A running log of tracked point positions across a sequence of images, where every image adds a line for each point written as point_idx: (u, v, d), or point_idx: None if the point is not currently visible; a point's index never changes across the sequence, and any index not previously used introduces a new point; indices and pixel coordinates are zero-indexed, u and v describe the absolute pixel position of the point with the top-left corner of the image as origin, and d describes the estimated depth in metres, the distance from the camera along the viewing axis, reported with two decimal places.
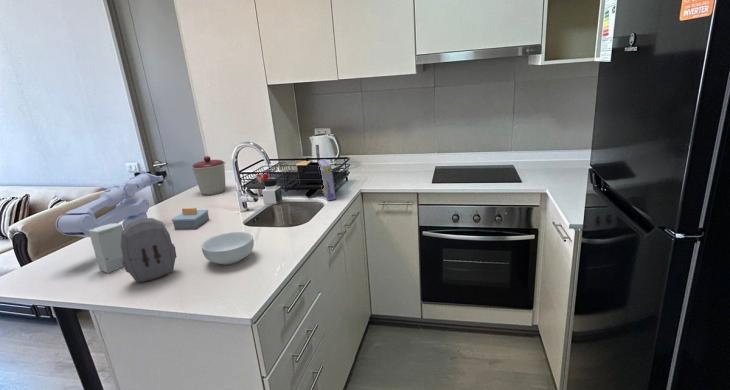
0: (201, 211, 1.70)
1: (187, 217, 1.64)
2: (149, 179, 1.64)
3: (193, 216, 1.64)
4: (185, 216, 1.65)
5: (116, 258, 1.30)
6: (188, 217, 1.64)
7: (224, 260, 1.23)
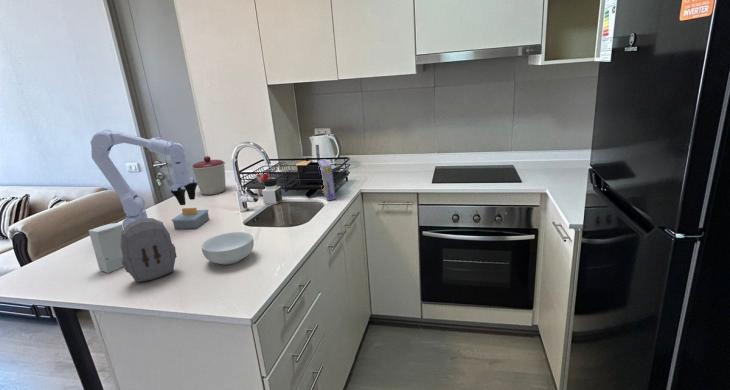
0: (201, 211, 1.70)
1: (187, 217, 1.64)
2: (179, 181, 1.60)
3: (193, 216, 1.64)
4: (185, 216, 1.65)
5: (116, 258, 1.30)
6: (188, 217, 1.64)
7: (224, 260, 1.23)
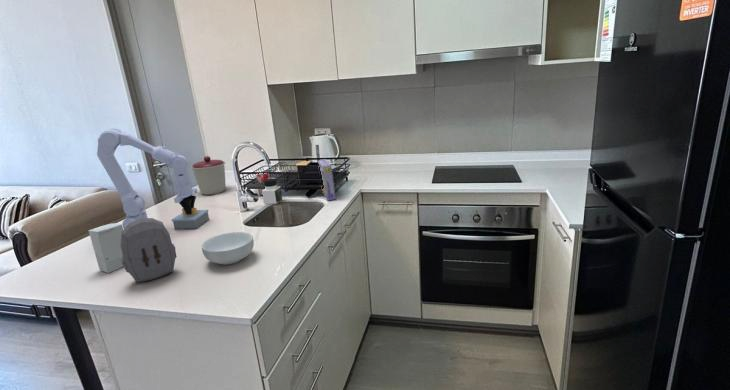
0: (201, 211, 1.70)
1: (187, 217, 1.64)
2: (182, 193, 1.62)
3: (193, 216, 1.64)
4: (185, 216, 1.65)
5: (116, 258, 1.30)
6: (188, 217, 1.64)
7: (224, 260, 1.23)
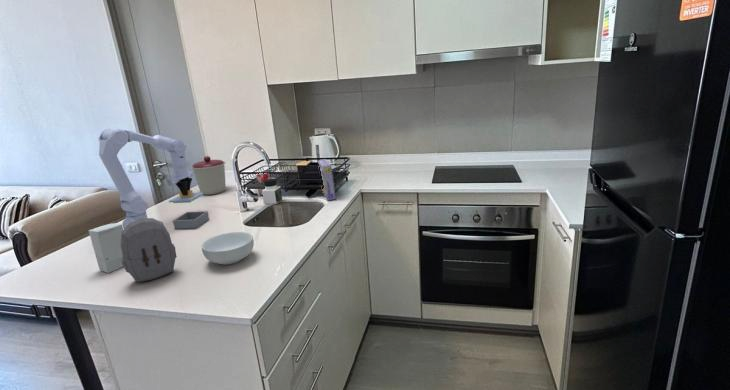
0: (197, 194, 1.81)
1: (183, 199, 1.74)
2: (178, 175, 1.72)
3: (189, 198, 1.75)
4: (182, 198, 1.75)
5: (116, 258, 1.30)
6: (185, 198, 1.75)
7: (224, 260, 1.23)
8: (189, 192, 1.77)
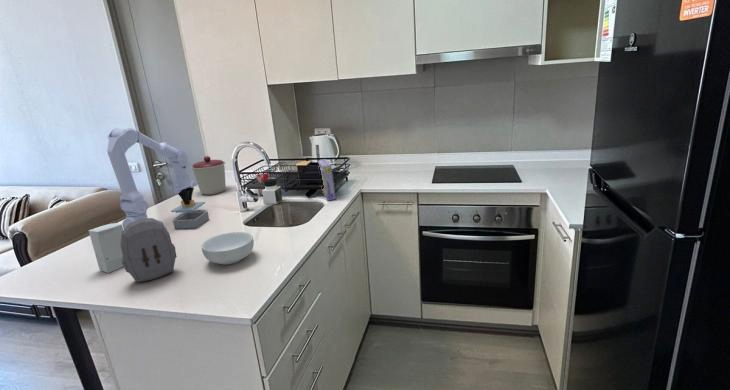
0: (198, 203, 1.85)
1: (185, 208, 1.78)
2: (181, 184, 1.76)
3: (191, 207, 1.79)
4: (184, 208, 1.79)
5: (116, 258, 1.30)
6: (187, 208, 1.79)
7: (224, 260, 1.23)
8: (191, 202, 1.80)
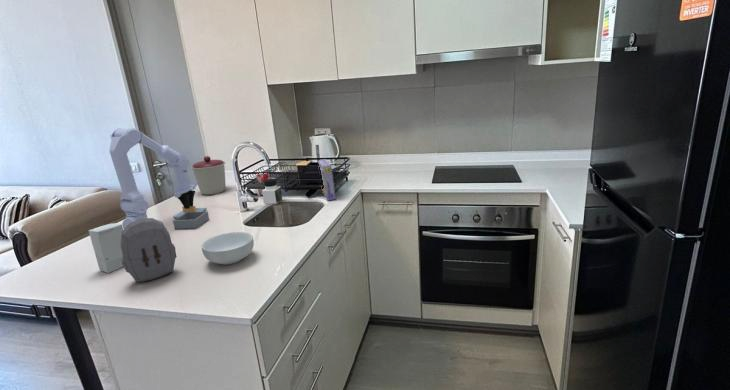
0: (200, 209, 1.86)
1: None
2: (181, 188, 1.76)
3: None
4: None
5: (116, 258, 1.30)
6: None
7: (224, 260, 1.23)
8: (192, 208, 1.81)
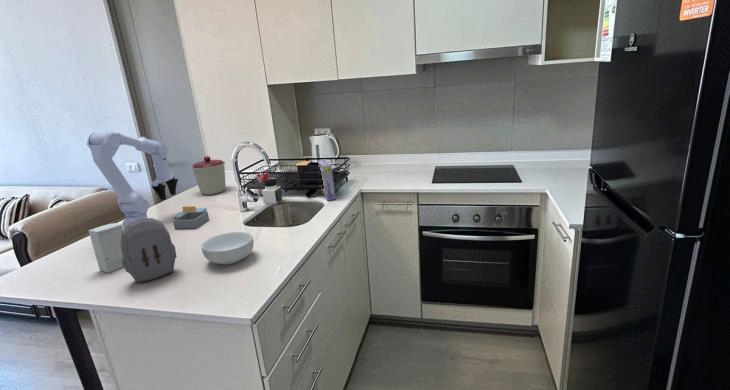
0: (200, 209, 1.86)
1: None
2: (160, 177, 1.71)
3: None
4: None
5: (116, 258, 1.30)
6: None
7: (224, 260, 1.23)
8: (192, 208, 1.81)
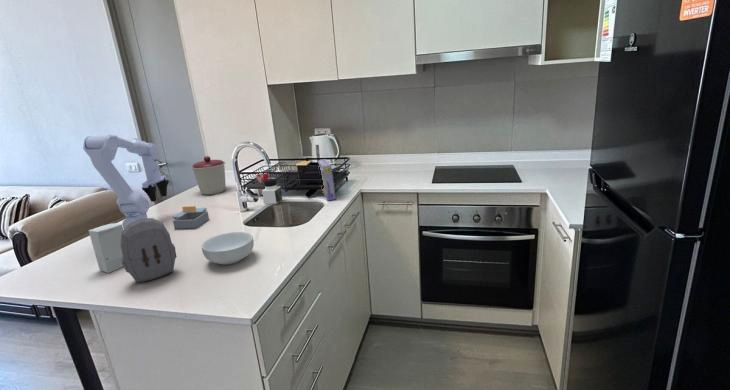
0: (200, 209, 1.86)
1: None
2: (150, 178, 1.69)
3: None
4: None
5: (116, 258, 1.30)
6: None
7: (224, 260, 1.23)
8: (192, 208, 1.81)
